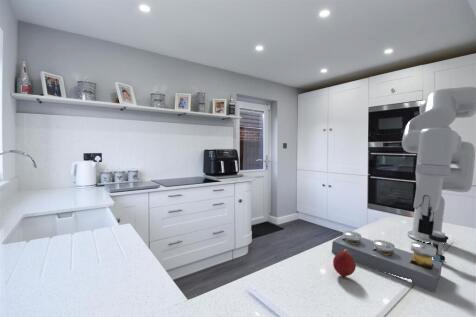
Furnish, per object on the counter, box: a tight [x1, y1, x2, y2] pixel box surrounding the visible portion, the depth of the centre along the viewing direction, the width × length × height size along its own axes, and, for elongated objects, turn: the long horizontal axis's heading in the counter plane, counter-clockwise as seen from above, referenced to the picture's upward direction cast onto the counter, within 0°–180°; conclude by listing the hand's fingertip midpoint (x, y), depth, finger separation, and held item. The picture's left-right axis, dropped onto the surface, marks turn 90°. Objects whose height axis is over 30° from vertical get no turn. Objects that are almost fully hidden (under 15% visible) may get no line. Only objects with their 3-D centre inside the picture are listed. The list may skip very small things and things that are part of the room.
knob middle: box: [373, 239, 396, 256], centre depth 76 cm, size 6×6×6 cm
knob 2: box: [410, 241, 437, 269], centre depth 68 cm, size 6×6×6 cm
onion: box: [332, 249, 356, 278], centre depth 66 cm, size 6×6×8 cm
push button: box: [429, 231, 449, 266], centre depth 78 cm, size 7×5×10 cm
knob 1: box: [342, 230, 362, 245], centre depth 83 cm, size 6×6×6 cm
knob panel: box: [331, 235, 443, 293], centre depth 76 cm, size 13×28×4 cm, turn 43°
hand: (425, 233), depth 67 cm, fingers closed
